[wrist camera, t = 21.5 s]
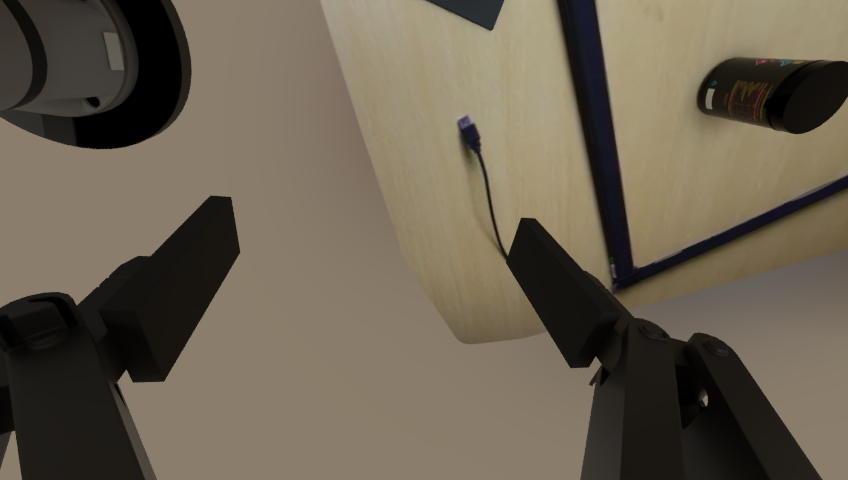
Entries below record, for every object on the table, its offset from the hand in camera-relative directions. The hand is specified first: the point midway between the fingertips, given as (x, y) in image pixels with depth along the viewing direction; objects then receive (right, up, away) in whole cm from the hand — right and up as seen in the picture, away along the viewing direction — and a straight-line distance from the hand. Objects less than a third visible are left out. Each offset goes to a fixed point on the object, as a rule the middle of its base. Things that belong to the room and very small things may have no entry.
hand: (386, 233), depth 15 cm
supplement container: (+39, +19, +26) cm, 51 cm away
